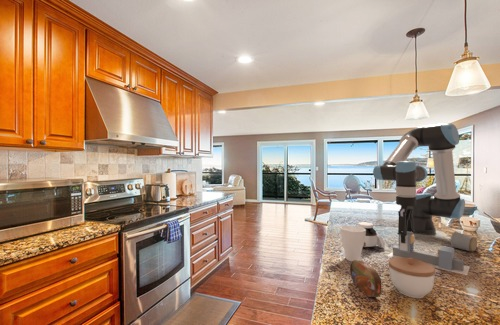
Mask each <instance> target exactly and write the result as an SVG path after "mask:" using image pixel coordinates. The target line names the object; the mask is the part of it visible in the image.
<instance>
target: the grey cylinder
mask: <svg viewBox="0 0 500 325" xmlns="http://www.w3.org/2000/svg"><path fill="white" fill-rule="evenodd" d="M450 245H451V248H454V249H457V250H458V249H459V250H463V251H467V252H470V253H471V252H475V251H476V249H477V246H478V240H477V238H476V237H474V236H472V235H468V234H466V233H461V232H458V231H454V232H453V233H452V234H451V236H450Z"/></svg>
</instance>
